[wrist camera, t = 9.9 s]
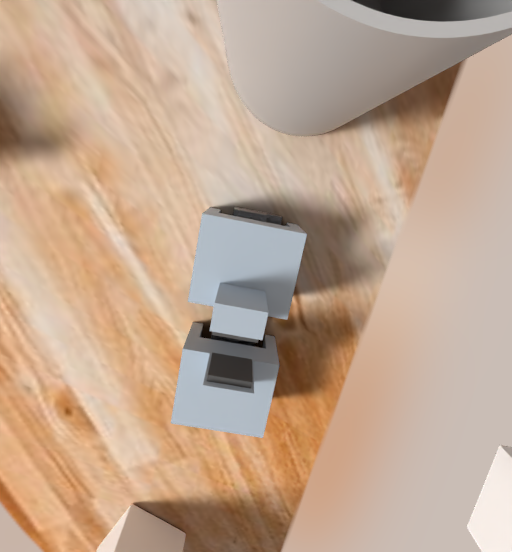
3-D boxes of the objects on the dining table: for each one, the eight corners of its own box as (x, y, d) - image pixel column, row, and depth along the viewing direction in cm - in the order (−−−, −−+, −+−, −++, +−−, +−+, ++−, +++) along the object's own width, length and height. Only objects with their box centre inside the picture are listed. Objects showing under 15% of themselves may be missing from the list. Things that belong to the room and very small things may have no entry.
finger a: (193, 317, 37) (172, 373, 27) (275, 331, 38) (286, 392, 27) (182, 386, 39) (157, 465, 29) (260, 399, 40) (265, 481, 29)
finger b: (209, 207, 35) (193, 221, 24) (297, 224, 35) (318, 245, 25) (196, 286, 37) (175, 332, 26) (280, 302, 37) (292, 352, 27)
